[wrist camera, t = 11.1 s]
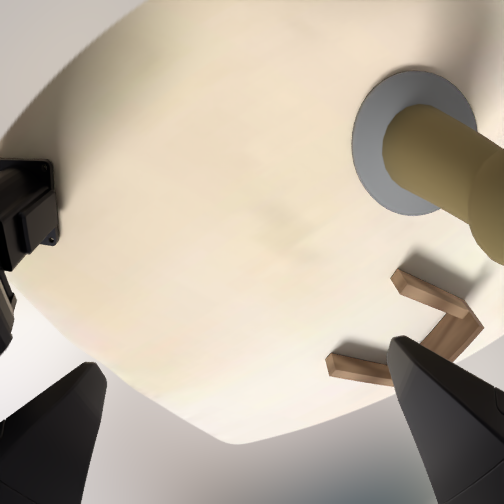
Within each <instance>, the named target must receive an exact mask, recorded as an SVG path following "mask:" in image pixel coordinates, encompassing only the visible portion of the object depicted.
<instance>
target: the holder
mask: <svg viewBox="0 0 504 504" xmlns="http://www.w3.org/2000/svg"><path fill="white" fill-rule="evenodd" d="M390 279H391V280H392V282H393V284H394V285H395V287H396V289H397V290H398V292H399V294H401V295H403V296H406V297H408V298H411V299H413V300H416V301H418V302H421V303H423V304H426V305H428V306H431V307H433V308H436V309H438V310H441V311H443V312H446V313H447V314H446V315H445V316H444V317H443V318H442V320H441V321H440V322H439V323H438V324H437V325H436V327H435V328H434V329H433V330H432V331H431V332H430V333H429V335H428V336H427V337H426V338H425V339H424V340H423V341H422V342H421V343H420V344H421V345H423V346H424V347H426V348H428V349H430V350H431V351H433V352H435V353H437V354H438V355H440V356H442V357H444V358H445V359H447V360H449V361H451V362H453V361H454V360H455V359H456V358H457V357H458V356H459V355H460V354H461V353H462V352H463V351H464V350H465V349H466V348H467V347H468V346H469V345H470V343H471V342H472V341H473V340H474V339H475V338H476V337H477V336H478V335H479V333H480V332H481V331H482V330H483V329H484V327H483V325H482V324H481V322H480V321H479V319H478V318H477V317H476V315H475V314H474V312H473V311H472V310H471V308H470V307H469V306H468V304H467V303H466V302H465V300H463V299H461V298H459V297H457V296H455V295H453V294H450V293H448V292H446V291H444V290H442V289H440V288H438V287H436V286H434V285H431V284H429V283H427V282H425V281H423V280H421V279H419V278H416V277H414V276H412V275H410V274H408V273H406V272H403V271H401V270H399V269H397V270H396V272H395V273H394V274H393V276H392V277H391V278H390ZM325 360H326V364H327V368H328V372H329V376H332V377H337V378H342V379H348V380H354V381H360V382H366V383H372V384H379V385H385V386H392V387H394V384H393V381H392V378H391V374H390V371H389V368H388V365H384V364H379V363H374V362H369V361H365V360H360V359H356V358H351V357H347V356H342V355H338V354H334V353H331V354H330V355H329V356H328V357H327V358H326V359H325Z"/></svg>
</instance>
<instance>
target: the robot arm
mask: <svg viewBox="0 0 504 504" xmlns="http://www.w3.org/2000/svg"><path fill="white" fill-rule="evenodd" d="M44 165H46V166H47V170H46V169H45V168H44ZM57 225H58V217H57V207H56V194H55V191H54V181H53V165H52V163H51V161H50V160H47V159H18V158H0V356H1V355H2V354H3V353H4V351H5V350H6V349H7V347H8V346H9V344H10V342H11V340H12V338H13V337H12V334H11V331H12V327H13V323H14V314H13V313H14V309H15V305H16V302H17V299H16V297H15V294H14V293H13V292H12V291H11V288H10V286H9V283H8V281H7V278H6V275H5V273H4V271H9V272H12V270H13V269H14V268H15V267H16V266H17V265H18V263H19V262H20V261H21V260H22V259H23V258H24V257H25V255H26V254H31V253H32V252H33V251H34V249H35V248H36V247H37V246H38V245H39V244H43V245H49V246H54V245H56V244H57V243H58V241H59V236H58V227H57ZM51 237H52V238H53V239H54V240H52V239H51ZM387 364H388V368H389V371H390V374H391V378H392V381H393V384H394V388H395V391H396V395H397V398H398V401H399V404H400V406H401V409H402V411H403V413H404V416H405V418H406V420H407V423H408V425H409V428H410V430H411V433H412V435H413V437H414V440H415V443H416V445H417V448H418V450H419V453H420V455H421V458H422V460H423V463H424V466H425V468H426V471H427V474H428V476H429V479H430V482H431V485H432V487H433V490H434V493H435V496H436V499H437V501H438V504H504V392H503V391H502V390H500V389H498V388H497V387H495V388H494V386H492V385H491V384H489V383H487V382H485V381H484V380H482V379H480V378H478V377H477V376H475V375H473V374H471V373H469V372H468V371H466V370H464V369H463V368H461V367H459V366H458V365H456V364H454V363H452V362H451V361H449V360H447V359H445V358H444V357H442V356H440V355H438V354H437V353H435V352H433V351H431V350H430V349H428V348H426V347H424V346H423V345H421V344H419V343H417V342H416V341H414V340H412V339H410V338H409V337H407V336H404V335H402V336H397V337H393V338H392V339H391V342H390V346H389V349H388V353H387ZM106 388H107V381H106V378H105V376H104V374H103V373H102V371H101V370H100V368H99V367H98V365H97V364H96V363H94V362H84V363H82V364H81V365H79V366H78V367H77V368H75V369H74V370H72V371H71V372H70V373H68V374H67V375H65V376H64V377H63V378H61V379H60V380H59V381H57V382H56V383H54V384H53V385H52V386H50V387H49V388H47V389H46V390H45V391H43V392H42V393H41V394H39V395H38V396H37V397H35V398H34V399H33V400H31V401H30V402H28V403H27V404H25V405H24V406H23V407H21V408H20V409H19V410H17V411H16V412H14V413H13V414H12V415H10V416H9V417H8V418H6V420H3V421H2V422H0V504H81V500H82V496H83V491H84V486H85V481H86V477H87V473H88V469H89V465H90V461H91V457H92V453H93V449H94V445H95V441H96V437H97V434H98V430H99V426H100V422H101V417H102V411H103V405H104V399H105V394H106Z"/></svg>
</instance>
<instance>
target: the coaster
mask: <svg viewBox="0 0 504 504" xmlns="http://www.w3.org/2000/svg"><path fill="white" fill-rule="evenodd" d="M416 104H424V105H431V106H433V107H435V108H437V109H439V110H440V111H442V112H444V113H446V114H448V115H450V116H451V117H453V118H455V119H457V120H458V121H460V122H462V123H463V124H465V125H467V126H468V127H470V128H472V129H473V130H475V131H477V125H476V121H475V117H474V114H473V112H472V109H471V107H470V105H469V103H468V102H467V100H466V98H465V97H464V96H463V94H462V93H461V92H460V91H459V90H458V89H457V88H456V87H455V86H454V85H453V84H452V83H450V82H449V81H448V80H446V79H444V78H443V77H441V76H438V75H436V74H433V73H429V72H422V71H407V72H402V73H398V74H395V75H393V76H390V77H388V78H386V79H385V80H383V81H382V82H380V83H379V84H378V85H377V86H376V87H375V88H373V89H372V91H371V92H370V93H369V94H368V95H367V97H366V98H365V100H364V101H363V103H362V105H361V107H360V109H359V111H358V113H357V116H356V119H355V122H354V127H353V132H352V156H353V162H354V166H355V169H356V172H357V175H358V177H359V179H360V181H361V183H362V184H363V186H364V188H365V189H366V190H367V192H368V193H369V194H370V195H371V196H372V197H373V198H374V199H375V200H376V201H377V202H378V203H379V204H380V205H382V206H383V207H385V208H386V209H388V210H390V211H392V212H395V213H398V214H402V215H408V216H418V215H425V214H428V213H432V212H434V211H436V210H439V209H440V208H439V207H437V206H436V205H434V204H432V203H430V202H428V201H426V200H424V199H423V198H421V197H419V196H417V195H415V194H413V193H411V192H409V191H407V190H405V189H403V188H401V187H400V186H399V185H398V184H396V183H395V182H394V181H393V180H392V179H391V177H390V176H389V174H388V172H387V170H386V169H385V165H384V161H383V157H382V146H383V138H384V135H385V132H386V129H387V126H388V125H389V123H390V122H391V121H392V119H393V118H394V117H395V115H396V114H398V113H399V112H400V111H402V110H403V109H405V108H406V107H409V106H412V105H416ZM477 132H478V131H477Z"/></svg>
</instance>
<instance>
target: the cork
mask: <svg viewBox="0 0 504 504" xmlns="http://www.w3.org/2000/svg"><path fill="white" fill-rule="evenodd" d="M382 157H383V161H384V165H385V169H386V170H387V172H388V174H389V176H390V177H391V179H392V180H393V181H394V182H395V183H396V184H398V185H399V186H400V187H401V188H403V189H405V190H407V191H409V192H411V193H413V194H415V195H417V196H419V197H421V198H423V199H424V200H426V201H428V202H430V203H432V204H434V205H436V206H437V207H439V208H441V209H443V210H445V211H446V212H448V213H450V214H452V215H454V216H455V217H457V218H459V219H460V220H462V221H464V222H466V223H467V224H469V226H470V229H471V232H472V235H473V237H474V239H475V240H476V242H477V244H478V245H479V246H480V248H481V249H482V250H483V251H484V252H485V253H486V254H487V255H488V256H489V257H490V258H491V260H493V261H495V262H497V263H499V264H501V265H504V149H502V148H501V147H500V146H498V145H497V144H495V143H494V142H492V141H491V140H489V139H488V138H486V137H484V136H483V135H481V134H480V133H478V132H477V131H475V130H473V129H472V128H470V127H468V126H467V125H465V124H463V123H462V122H460V121H458V120H457V119H455V118H453V117H451V116H450V115H448V114H446V113H444V112H442V111H440V110H439V109H437V108H435V107H433V106H431V105H424V104H416V105H412V106H409V107H406V108H405V109H403V110H402V111H400V112H399V113H398V114H396V115H395V117H394V118H393V119H392V121H391V122H390V123H389V125H388V126H387V129H386V132H385V135H384V138H383V146H382Z"/></svg>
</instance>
